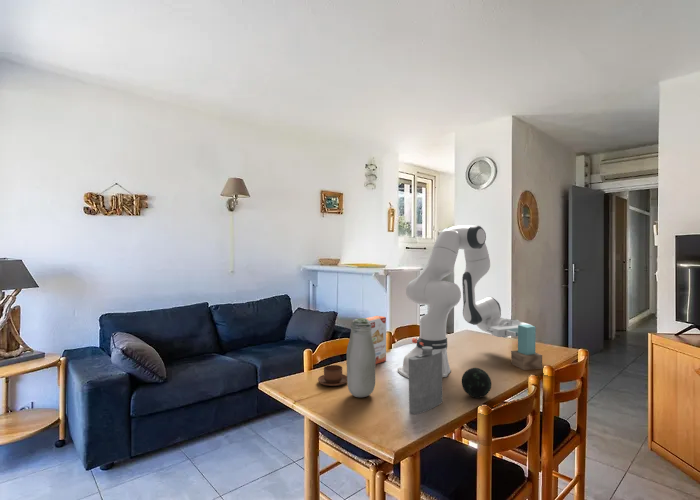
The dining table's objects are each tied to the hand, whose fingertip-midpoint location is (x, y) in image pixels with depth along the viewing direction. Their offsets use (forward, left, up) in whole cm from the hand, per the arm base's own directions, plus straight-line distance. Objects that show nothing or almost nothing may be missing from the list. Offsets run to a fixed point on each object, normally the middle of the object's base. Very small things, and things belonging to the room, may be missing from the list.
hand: (524, 333), depth 172 cm
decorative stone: (-42, -22, -14) cm, 50 cm away
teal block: (0, -1, -8) cm, 8 cm away
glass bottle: (-80, -6, -14) cm, 81 cm away
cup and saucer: (-86, +11, -14) cm, 87 cm away
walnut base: (0, -1, -14) cm, 14 cm away
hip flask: (-63, -23, -14) cm, 69 cm away
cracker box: (-61, +29, -14) cm, 69 cm away
